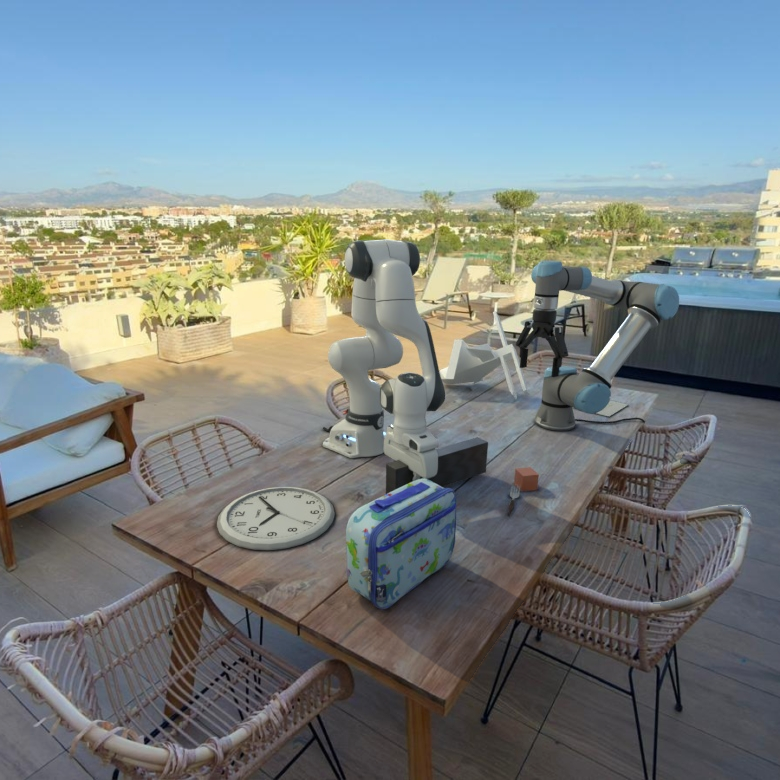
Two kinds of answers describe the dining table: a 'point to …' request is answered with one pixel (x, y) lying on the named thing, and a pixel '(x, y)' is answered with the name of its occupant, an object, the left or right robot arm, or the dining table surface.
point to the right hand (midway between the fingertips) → (538, 371)
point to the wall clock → (275, 518)
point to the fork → (513, 495)
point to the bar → (444, 465)
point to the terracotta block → (526, 479)
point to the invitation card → (612, 408)
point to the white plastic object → (481, 362)
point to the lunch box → (400, 540)
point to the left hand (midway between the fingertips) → (408, 480)
